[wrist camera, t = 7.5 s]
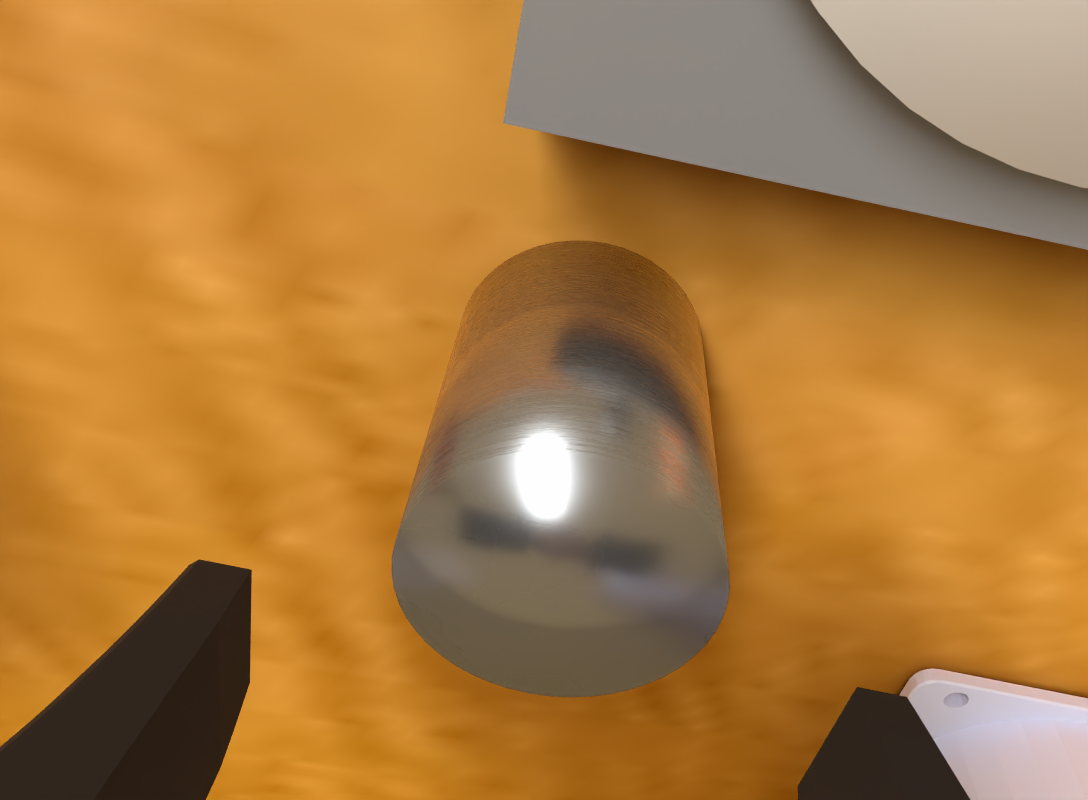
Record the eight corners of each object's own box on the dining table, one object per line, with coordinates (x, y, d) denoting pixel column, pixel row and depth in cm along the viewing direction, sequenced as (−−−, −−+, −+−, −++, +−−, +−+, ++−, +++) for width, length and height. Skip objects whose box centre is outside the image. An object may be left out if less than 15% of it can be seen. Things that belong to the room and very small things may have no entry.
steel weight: (733, 269, 16) (775, 492, 12) (667, 467, 19) (679, 719, 14) (476, 217, 16) (408, 422, 11) (445, 424, 19) (379, 666, 14)
